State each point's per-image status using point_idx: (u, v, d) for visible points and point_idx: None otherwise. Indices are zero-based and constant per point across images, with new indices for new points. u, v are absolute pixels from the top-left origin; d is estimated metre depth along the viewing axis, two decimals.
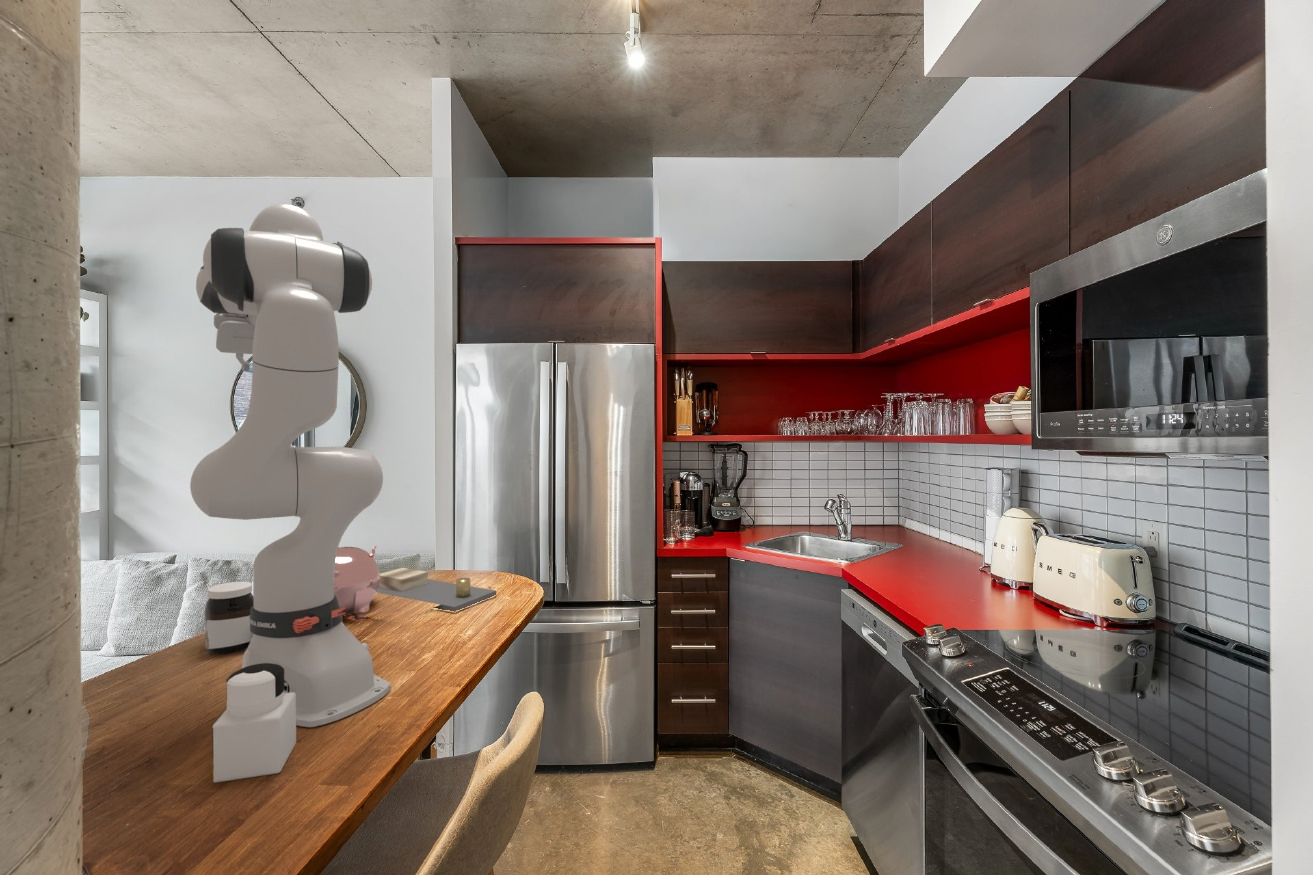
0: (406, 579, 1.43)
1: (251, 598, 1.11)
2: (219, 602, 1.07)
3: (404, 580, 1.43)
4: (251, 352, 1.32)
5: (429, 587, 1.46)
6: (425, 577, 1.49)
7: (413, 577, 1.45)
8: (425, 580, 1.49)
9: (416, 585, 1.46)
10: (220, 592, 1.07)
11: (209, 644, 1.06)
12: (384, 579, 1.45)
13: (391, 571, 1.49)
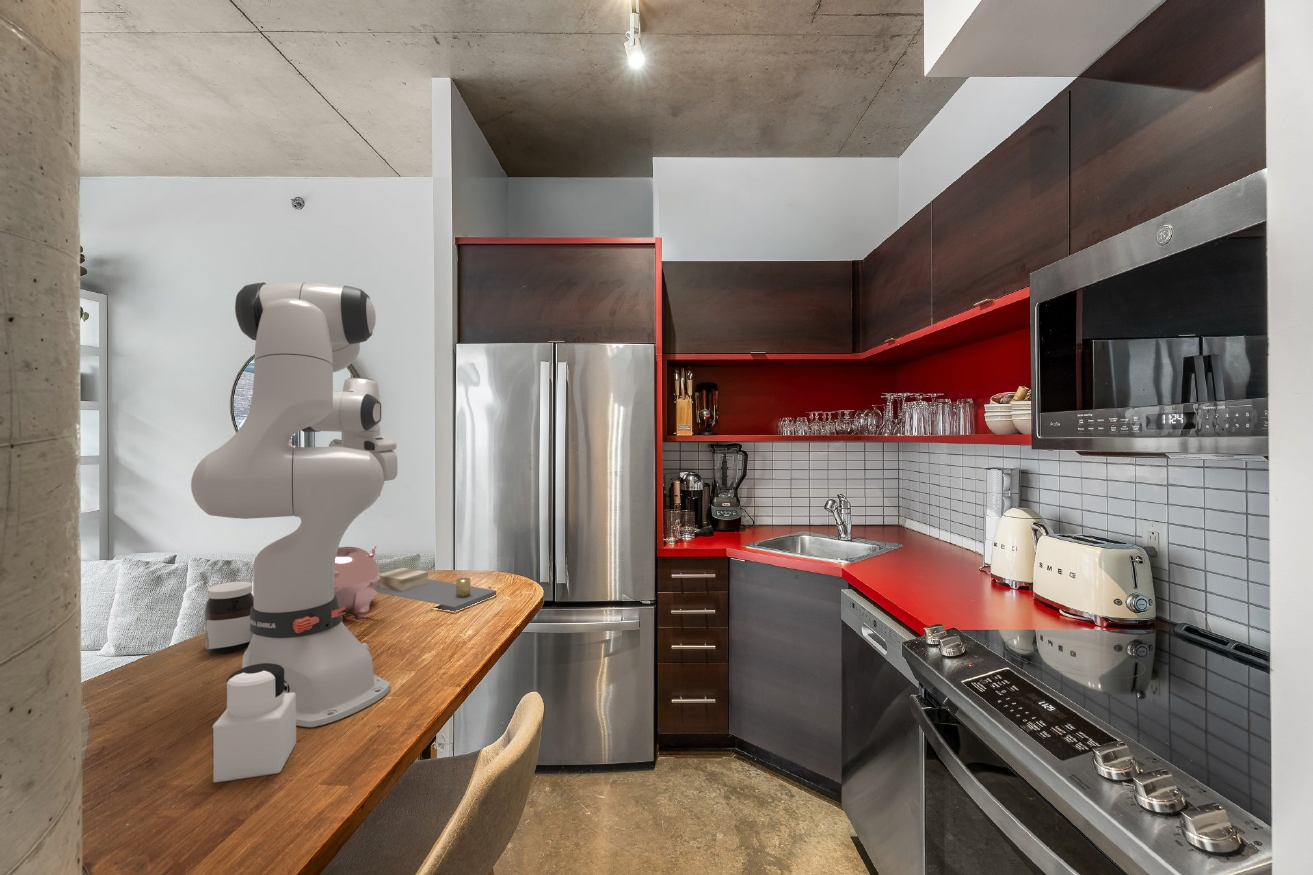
0: (406, 579, 1.43)
1: (251, 598, 1.11)
2: (219, 602, 1.07)
3: (404, 580, 1.43)
4: None
5: (429, 587, 1.46)
6: (425, 577, 1.49)
7: (413, 577, 1.45)
8: (425, 580, 1.49)
9: (416, 585, 1.46)
10: (220, 592, 1.07)
11: (209, 644, 1.06)
12: (384, 579, 1.45)
13: (391, 571, 1.49)
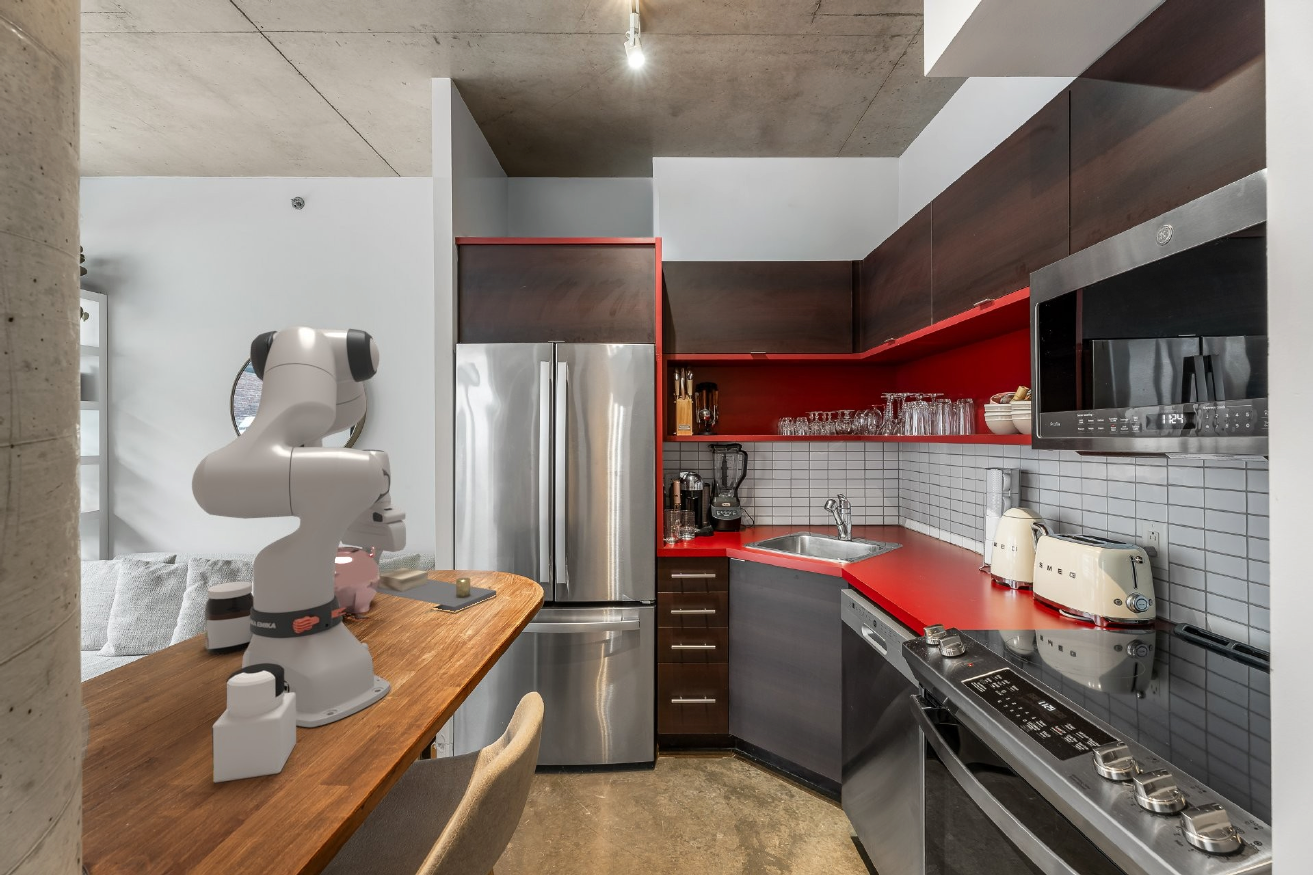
0: (406, 579, 1.43)
1: (251, 598, 1.11)
2: (219, 602, 1.07)
3: (404, 580, 1.43)
4: (356, 544, 1.52)
5: (429, 587, 1.46)
6: (425, 577, 1.49)
7: (413, 577, 1.45)
8: (425, 580, 1.49)
9: (416, 585, 1.46)
10: (220, 592, 1.07)
11: (209, 644, 1.06)
12: (384, 579, 1.45)
13: (391, 571, 1.49)
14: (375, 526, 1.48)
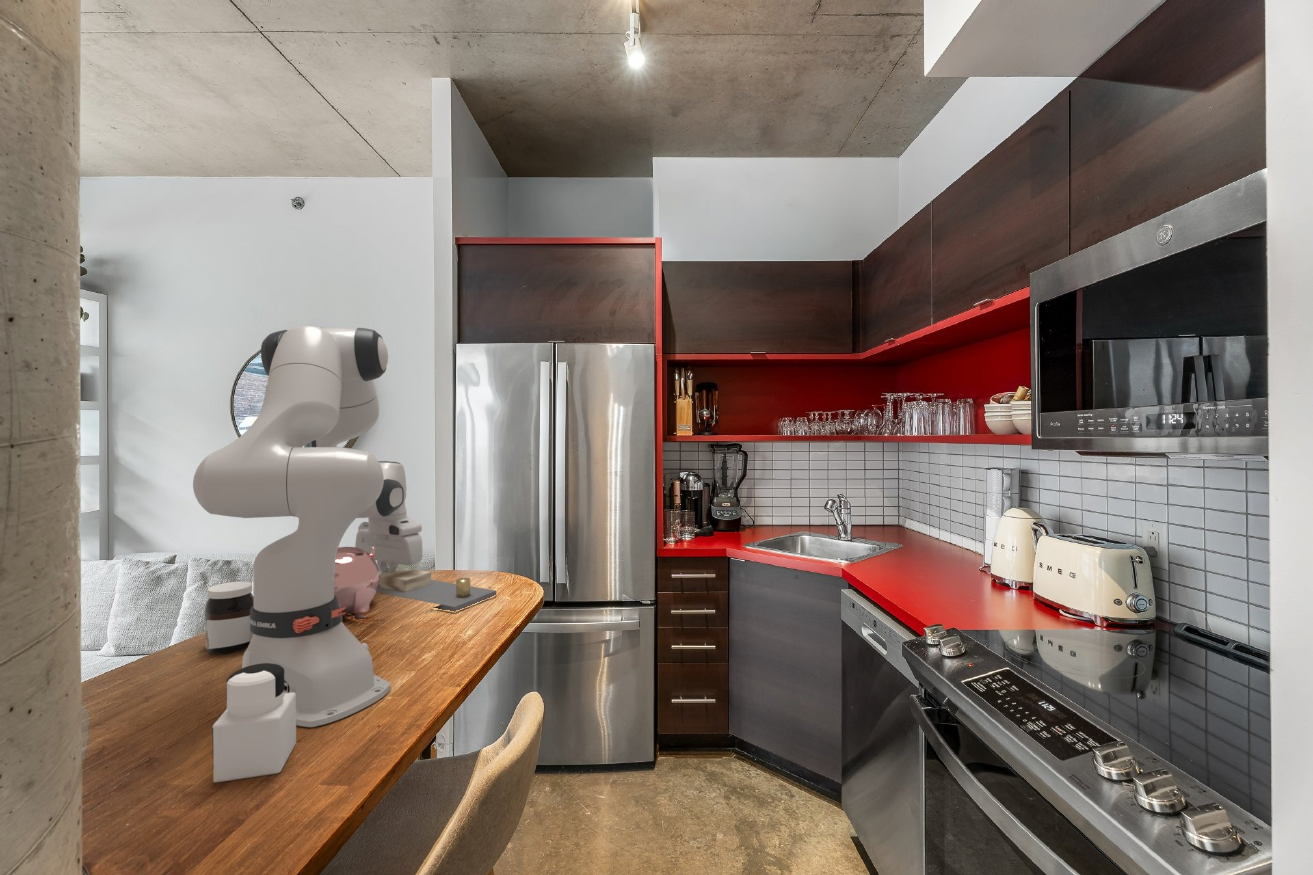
0: (410, 579, 1.43)
1: (251, 598, 1.11)
2: (219, 602, 1.07)
3: (408, 581, 1.42)
4: None
5: (429, 587, 1.46)
6: (428, 577, 1.48)
7: (416, 577, 1.45)
8: (428, 581, 1.48)
9: (419, 585, 1.46)
10: (220, 592, 1.07)
11: (209, 644, 1.06)
12: (387, 580, 1.44)
13: (394, 571, 1.49)
14: (391, 539, 1.45)
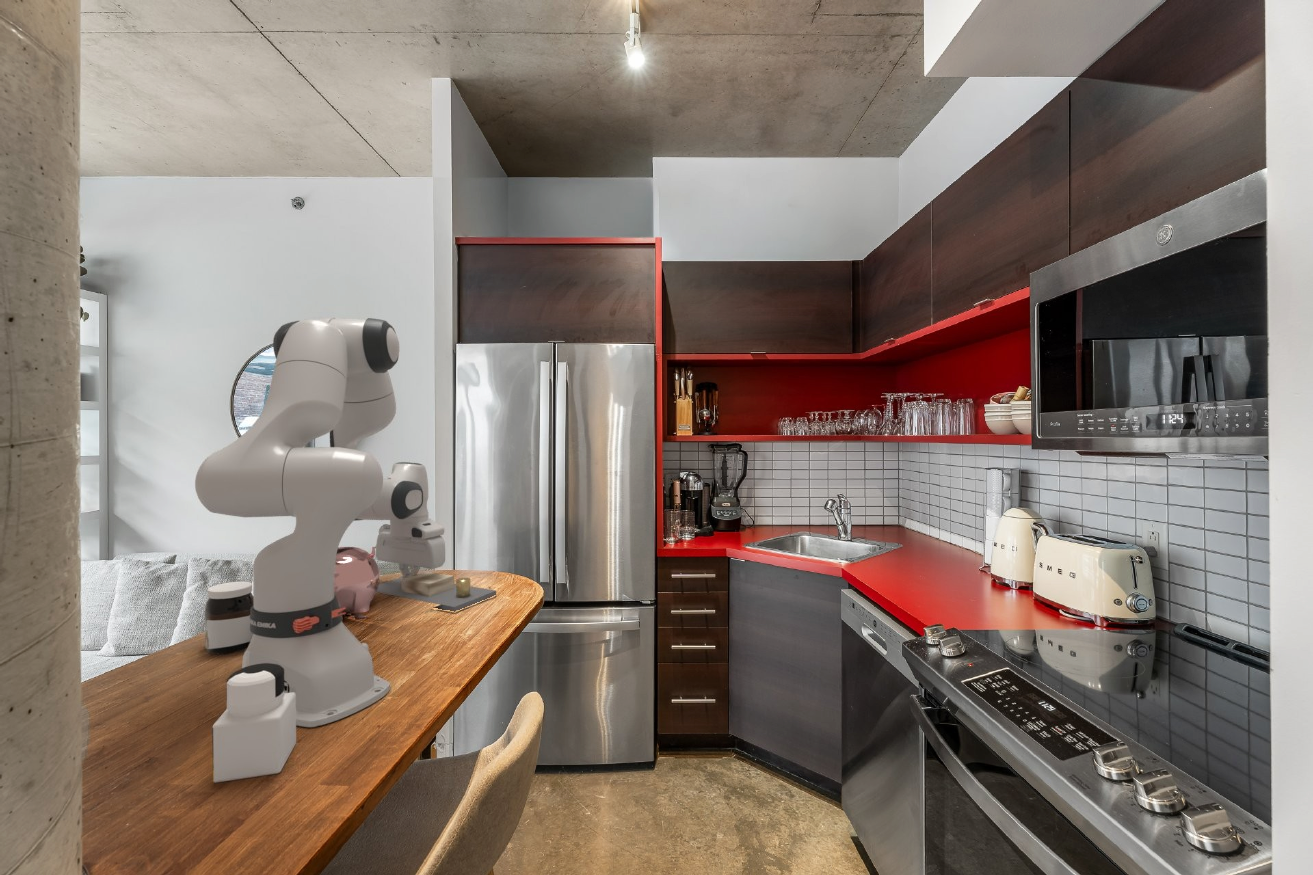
0: (433, 583, 1.40)
1: (251, 598, 1.11)
2: (219, 602, 1.07)
3: (431, 584, 1.39)
4: (393, 560, 1.46)
5: None
6: (451, 581, 1.45)
7: (440, 581, 1.42)
8: (451, 585, 1.45)
9: (443, 589, 1.43)
10: (220, 592, 1.07)
11: (209, 644, 1.06)
12: (410, 583, 1.41)
13: (416, 575, 1.46)
14: (414, 542, 1.42)
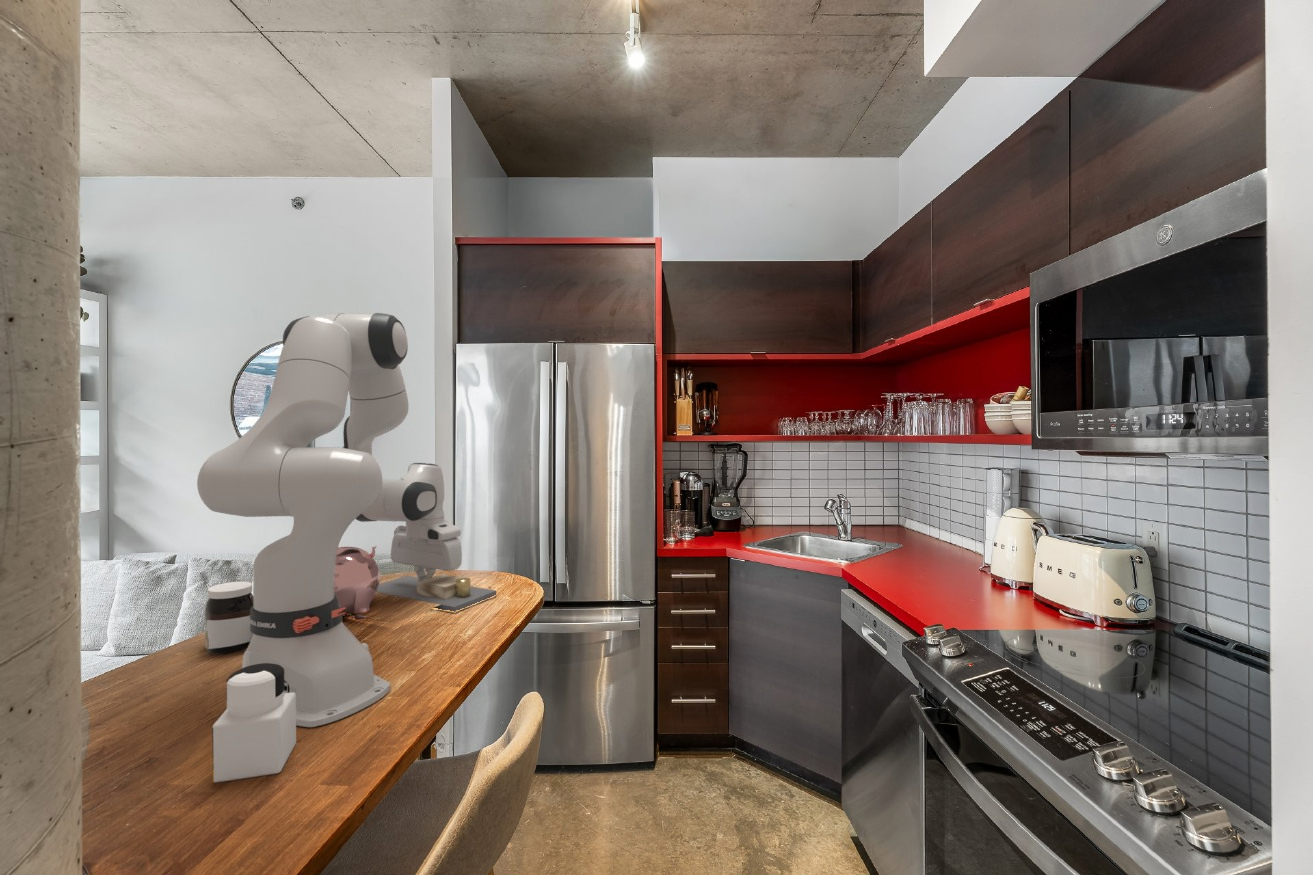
0: (449, 586, 1.38)
1: (251, 598, 1.11)
2: (219, 602, 1.07)
3: (447, 587, 1.37)
4: (408, 562, 1.44)
5: None
6: None
7: None
8: None
9: None
10: (220, 592, 1.07)
11: (209, 644, 1.06)
12: (426, 586, 1.39)
13: (431, 578, 1.44)
14: (430, 544, 1.40)
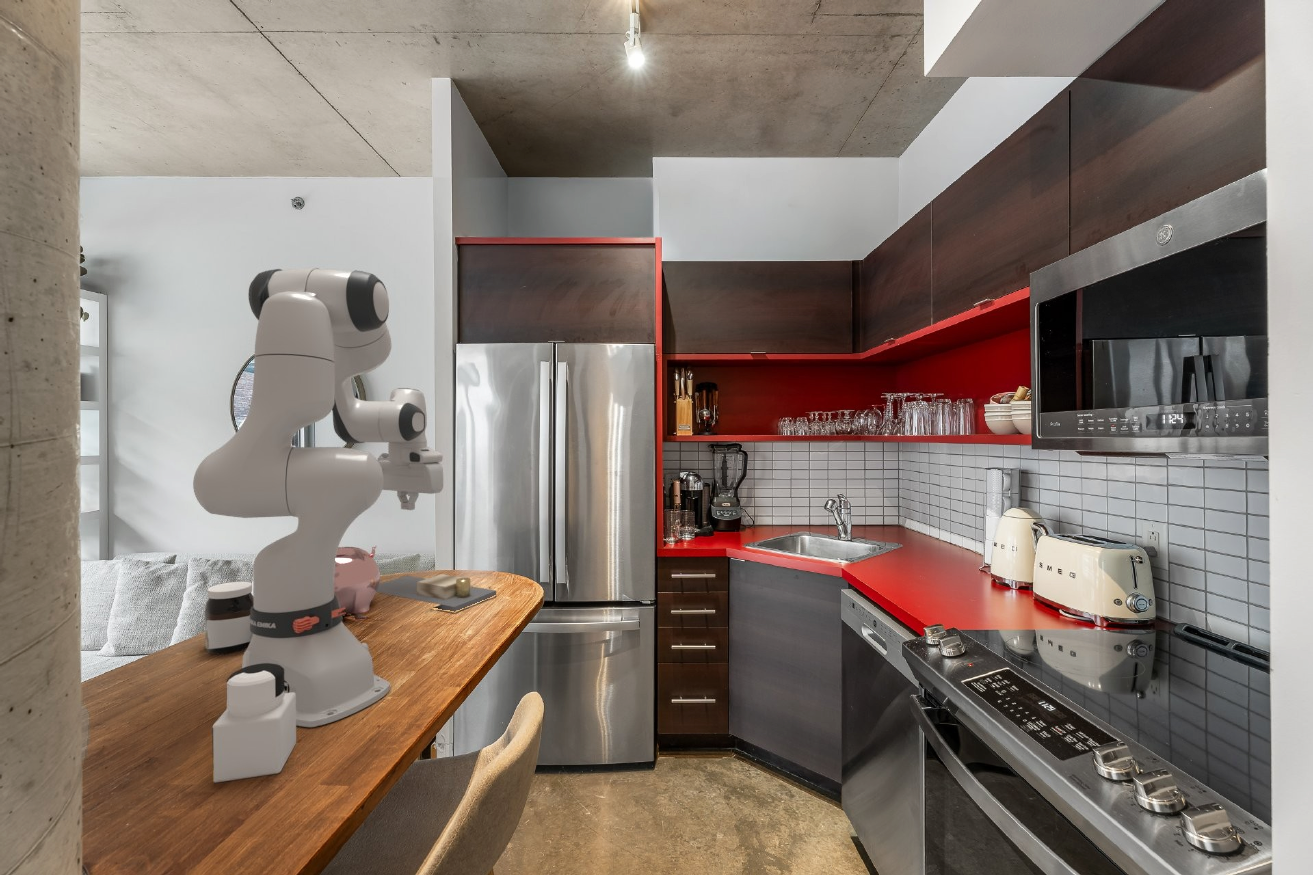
0: (449, 586, 1.38)
1: (251, 598, 1.11)
2: (219, 602, 1.07)
3: (447, 587, 1.37)
4: (391, 488, 1.46)
5: None
6: None
7: None
8: None
9: None
10: (220, 592, 1.07)
11: (209, 644, 1.06)
12: (426, 586, 1.39)
13: (431, 578, 1.44)
14: (412, 467, 1.42)
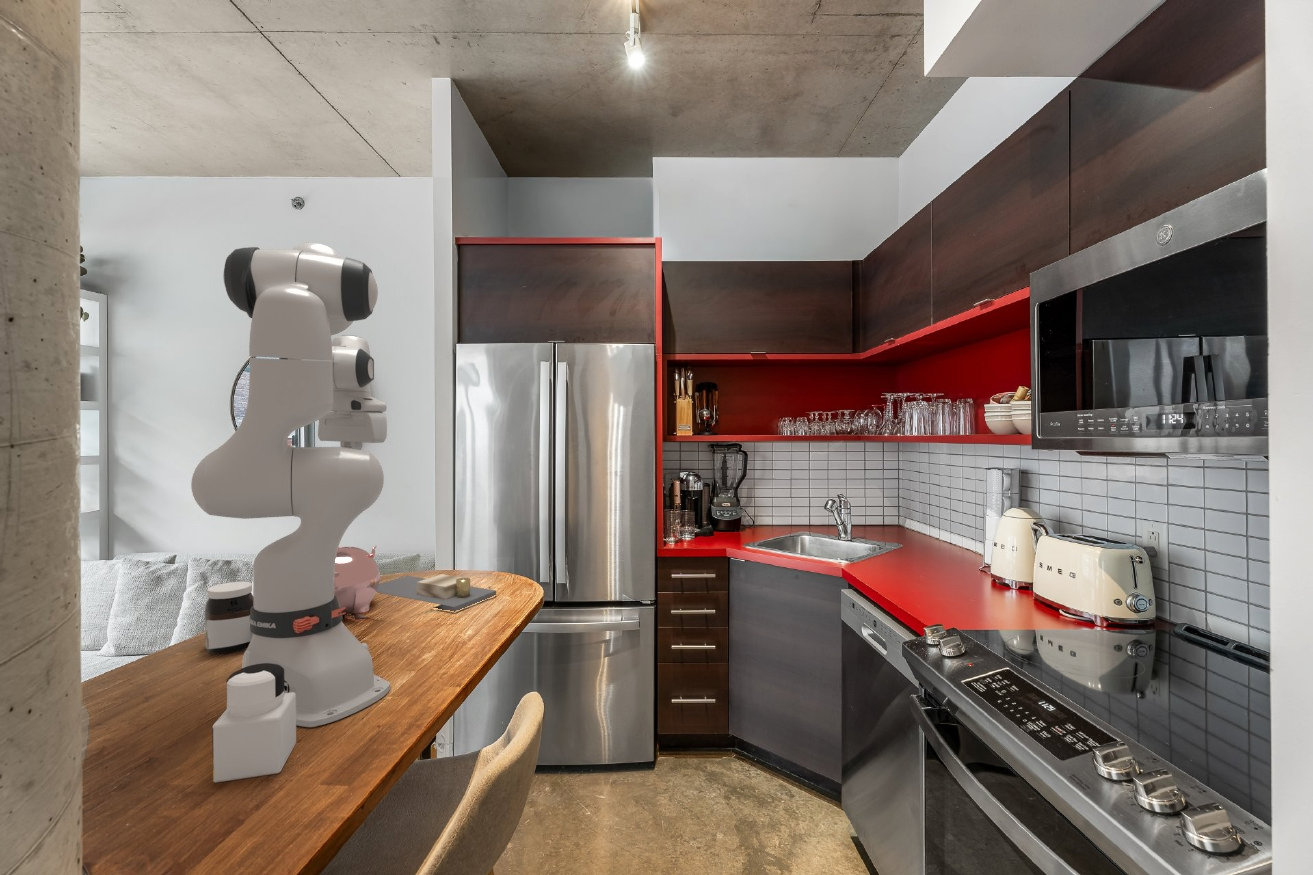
0: (449, 586, 1.38)
1: (251, 598, 1.11)
2: (219, 602, 1.07)
3: (447, 587, 1.37)
4: (334, 439, 1.43)
5: None
6: None
7: None
8: None
9: None
10: (220, 592, 1.07)
11: (209, 644, 1.06)
12: (426, 586, 1.39)
13: (431, 578, 1.44)
14: (354, 416, 1.39)
